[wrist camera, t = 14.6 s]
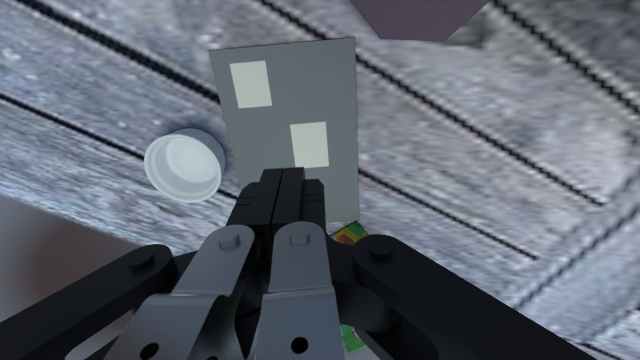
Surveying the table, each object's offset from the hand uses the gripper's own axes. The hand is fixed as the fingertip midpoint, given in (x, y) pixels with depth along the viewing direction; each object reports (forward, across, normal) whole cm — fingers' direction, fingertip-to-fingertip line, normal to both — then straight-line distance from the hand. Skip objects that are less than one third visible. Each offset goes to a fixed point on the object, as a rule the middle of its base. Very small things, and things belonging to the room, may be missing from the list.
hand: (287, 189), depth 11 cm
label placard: (+26, +2, +8) cm, 27 cm away
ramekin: (+26, +15, +9) cm, 31 cm away
